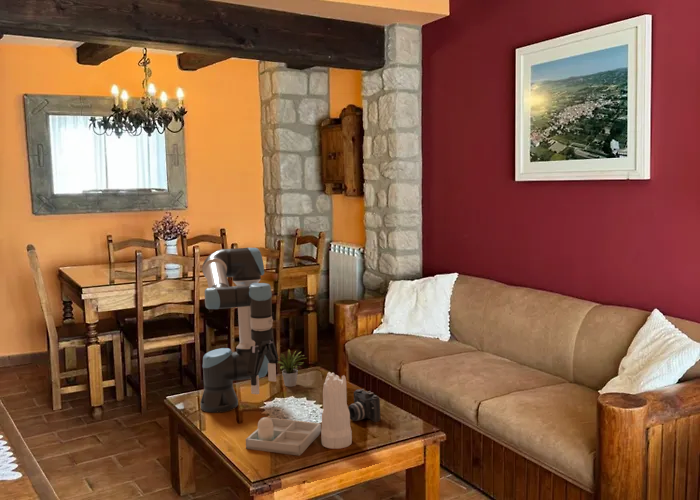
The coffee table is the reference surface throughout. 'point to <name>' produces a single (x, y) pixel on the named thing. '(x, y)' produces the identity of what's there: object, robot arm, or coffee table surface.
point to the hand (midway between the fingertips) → (264, 387)
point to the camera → (365, 406)
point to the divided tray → (286, 437)
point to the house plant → (290, 368)
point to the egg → (265, 429)
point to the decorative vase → (335, 414)
